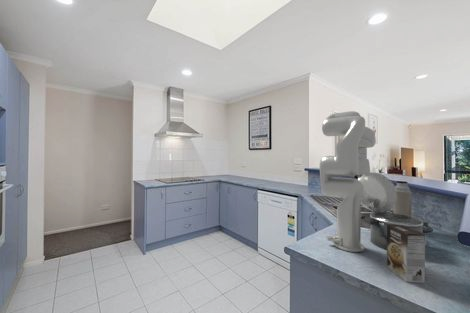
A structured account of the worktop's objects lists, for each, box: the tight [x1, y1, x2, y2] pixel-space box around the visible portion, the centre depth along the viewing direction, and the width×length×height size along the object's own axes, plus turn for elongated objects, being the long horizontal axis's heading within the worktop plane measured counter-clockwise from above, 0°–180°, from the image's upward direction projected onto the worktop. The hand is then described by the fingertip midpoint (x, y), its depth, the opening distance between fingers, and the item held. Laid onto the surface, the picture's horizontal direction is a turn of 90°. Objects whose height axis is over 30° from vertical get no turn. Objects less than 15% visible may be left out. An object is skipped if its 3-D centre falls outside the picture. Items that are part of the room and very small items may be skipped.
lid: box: [358, 172, 397, 213], centre depth 109 cm, size 22×21×4 cm
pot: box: [363, 212, 429, 251], centre depth 94 cm, size 26×20×13 cm
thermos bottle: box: [393, 180, 412, 217], centre depth 116 cm, size 8×8×28 cm
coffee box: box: [386, 225, 426, 284], centre depth 70 cm, size 9×6×16 cm
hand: (359, 186), depth 123 cm, fingers closed
